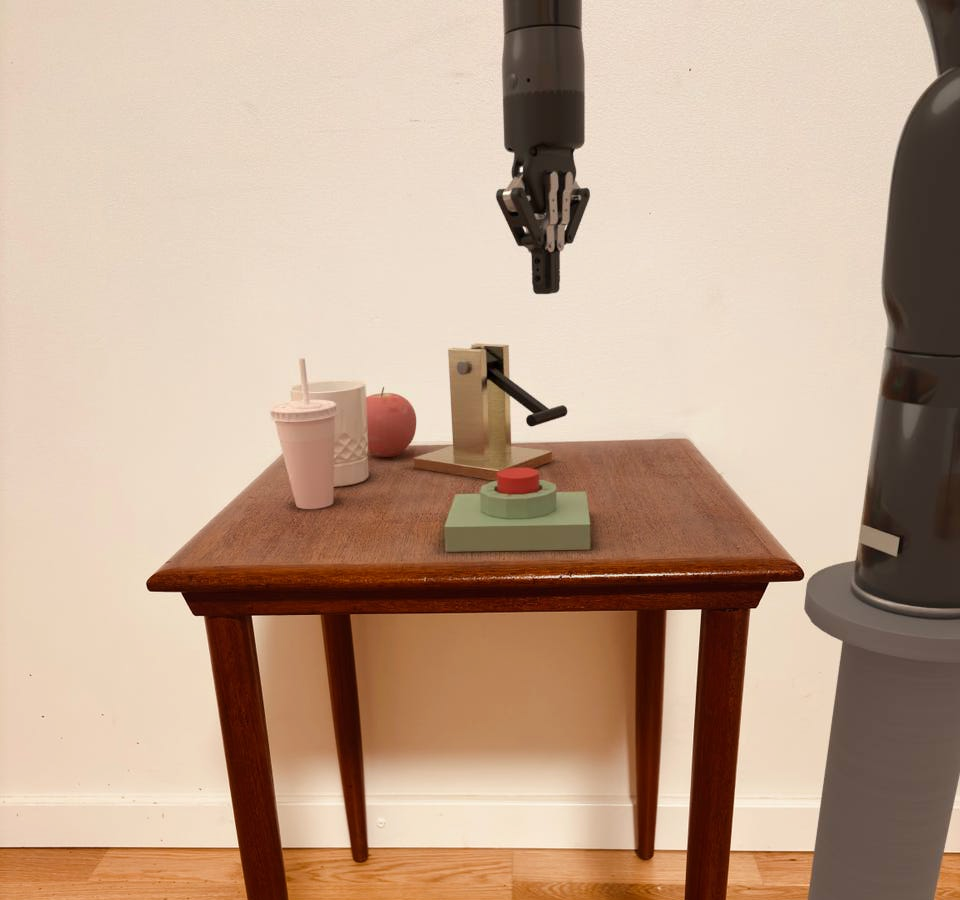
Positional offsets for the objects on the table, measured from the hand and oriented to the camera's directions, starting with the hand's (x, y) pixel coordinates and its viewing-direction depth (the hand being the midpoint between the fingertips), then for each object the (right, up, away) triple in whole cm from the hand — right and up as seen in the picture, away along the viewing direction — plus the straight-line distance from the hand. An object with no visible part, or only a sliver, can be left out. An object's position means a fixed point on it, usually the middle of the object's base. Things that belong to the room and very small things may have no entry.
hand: (546, 293), depth 91 cm
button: (-3, -22, -12) cm, 25 cm away
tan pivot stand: (-6, -15, +13) cm, 20 cm away
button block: (-3, -25, -11) cm, 27 cm away
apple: (-18, -13, +19) cm, 29 cm away
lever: (-4, -8, +7) cm, 12 cm away
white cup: (-22, -17, +9) cm, 29 cm away
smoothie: (-23, -21, +1) cm, 31 cm away
